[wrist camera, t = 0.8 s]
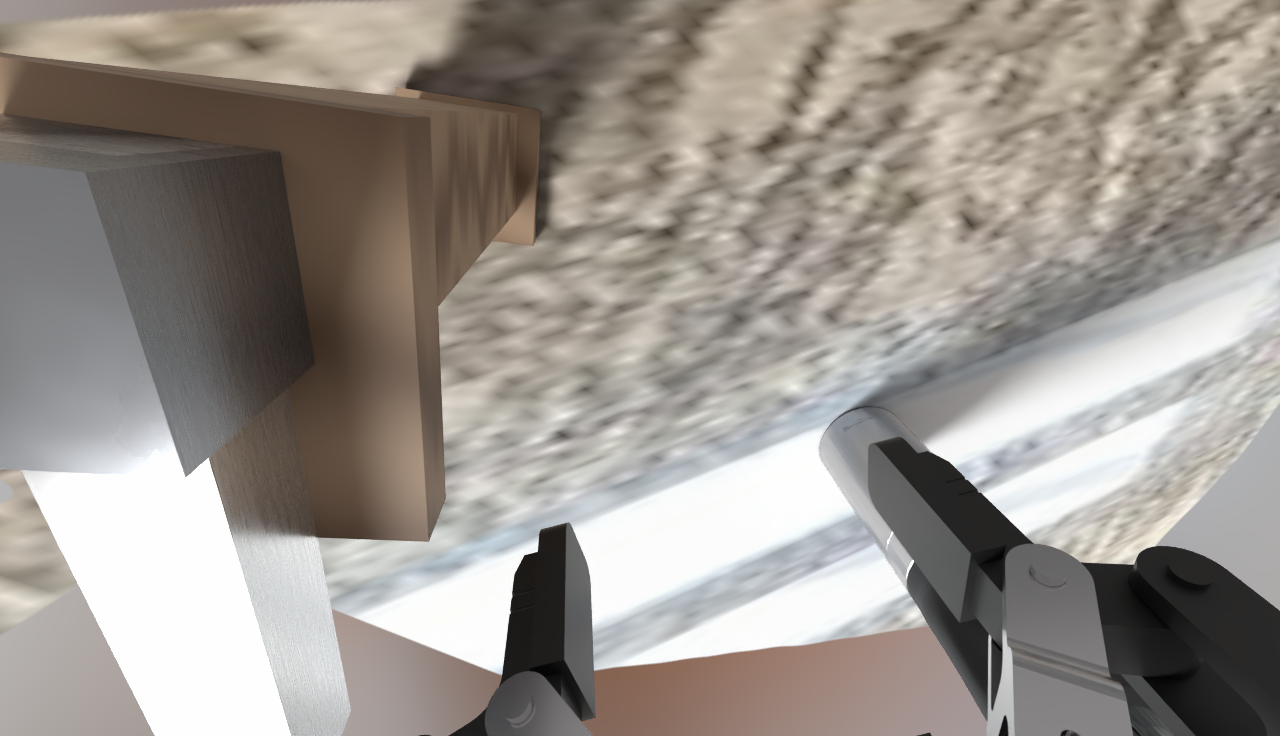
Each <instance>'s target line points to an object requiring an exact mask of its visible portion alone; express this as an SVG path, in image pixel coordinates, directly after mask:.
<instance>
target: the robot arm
mask: <svg viewBox="0 0 1280 736" xmlns="http://www.w3.org/2000/svg"><path fill="white" fill-rule="evenodd" d="M819 451H820V458H821V461H822V462H823V464H824V465H825V467H826V468H827V470H828V472H829V473H830V475H831V476H832V478H833V479H834V481H835V482H836V484H837V485H838V487H839V489H840V490H841V492H842V493H843V495H844V496H845V498H846V499H847V501H848V502H849V504H850V505H851V507H852V508H853V510H854V511H855V513H856V514H857V516H858V517H859V519H860V520H861V522H862V523H863V525H864V526H865V528H866V529H867V531H868V532H869V534H870V535H871V537H872V538H873V540H874V541H875V543H876V544H877V546H878V547H879V549H880V550H881V552H882V553H883V555H884V556H885V558H886V559H887V561H888V562H889V564H890V565H891V567H892V568H893V570H894V571H895V573H896V574H897V576H898V577H899V579H900V580H901V582H902V583H903V585H904V586H905V588H906V589H907V591H908V592H909V594H910V595H911V597H912V598H913V600H914V601H915V603H916V604H917V606H918V607H919V609H920V611H921V612H922V614H923V616H924V618H925V620H926V622H927V623H928V625H929V626H930V628H931V630H932V631H933V633H934V634H935V636H936V637H937V639H938V640H939V642H940V644H941V645H942V647H943V648H944V650H945V651H946V653H947V655H948V656H949V658H950V660H951V661H952V663H953V664H954V666H955V668H956V669H957V671H958V673H959V674H960V676H961V677H962V679H963V681H964V683H965V685H966V686H967V688H968V690H969V691H970V693H971V695H972V696H973V698H974V700H975V702H976V703H977V705H978V707H979V708H980V710H981V712H982V714H983V715H984V717H985V719H986V720H987V734H986V736H1280V611H1279V610H1278V609H1277V608H1275V607H1274V606H1273V605H1272V604H1270V603H1269V602H1268V601H1266V600H1265V599H1264V598H1263V597H1261V596H1260V595H1259V594H1257V593H1256V592H1255V591H1254V590H1252V589H1251V588H1250V587H1248V586H1247V585H1246V584H1244V583H1243V582H1242V581H1241V580H1239V579H1238V578H1237V577H1235V576H1234V575H1233V574H1232V573H1230V572H1229V571H1228V570H1227V569H1225V568H1224V567H1222V566H1221V565H1219V564H1218V563H1216V562H1214V561H1213V560H1211V559H1209V558H1206V557H1205V556H1203V555H1200V554H1197V553H1194V552H1192V551H1189V550H1185V549H1181V548H1176V547H1169V546H1156V547H1150V548H1147V549H1145V550H1143V551H1142V552H1140V553H1139V555H1138V557H1137V559H1136V561H1135V564H1134V565H1126V564H1100V563H1082V562H1079V561H1078V560H1077V559H1075V558H1074V557H1072V556H1071V555H1069V554H1067V553H1065V552H1063V551H1061V550H1059V549H1056V548H1054V547H1050V546H1046V545H1041V544H1034V543H1032V542H1031V541H1030V540H1029V539H1028V538H1027V537H1026V536H1025V535H1024V534H1023V533H1022V532H1021V531H1020V530H1019V529H1017V528H1016V527H1015V526H1014V525H1013V524H1012V523H1011V522H1010V521H1009V520H1008V519H1007V518H1006V517H1005V516H1004V515H1003V514H1002V513H1001V512H1000V511H999V510H998V509H997V508H996V507H995V506H994V505H993V504H992V503H991V502H990V501H989V500H988V499H987V498H986V497H985V496H984V495H983V494H982V493H979V492H978V491H977V489H976V488H975V487H974V486H973V485H972V484H971V483H970V482H969V481H968V480H965V477H964V476H963V475H962V474H961V473H960V472H959V471H958V470H957V469H956V468H955V467H954V466H953V465H952V464H951V463H950V462H948V461H946V460H944V459H942V458H940V457H939V456H937V455H935V454H933V453H932V452H931V451H930V450H929V449H928V448H927V447H926V446H925V445H924V444H923V443H921V442H920V441H919V440H918V439H917V438H916V436H915V435H914V434H913V433H912V432H911V431H909V430H908V429H907V428H906V427H905V426H904V425H903V424H902V423H901V422H900V421H899V420H898V419H897V418H896V417H895V416H894V415H893V414H892V413H890V412H889V411H887V410H885V409H881V408H876V407H866V408H860V409H856V410H853V411H850V412H848V413H846V414H844V415H843V416H841V417H840V418H838V419H837V420H836V421H834V422H833V423H832V424H831V425H830V426H829V428H828V429H827V430H826V432H825V433H824V435H823V437H822V439H821V443H820V447H819ZM512 595H513V598H512V600H511V608H510V611H511V614H510V616H509V624H508V632H507V641H506V649H505V657H504V665H503V674H502V679H501V683H500V686H499V688H498V689H497V690H496V691H495V693H494V694H493V696H492V698H491V699H490V701H489V704H488V707H487V708H486V709H485V710H484V711H483V712H482V713H481V714H480V715H479V716H478V717H477V718H475V719H474V720H473V721H471V722H470V723H468V724H467V725H465V726H464V727H462V728H461V729H459V730H457V731H456V732H454V733H452V734H451V735H449V736H593V735H592V734H591V733H590V732H589V730H588V729H587V728H586V727H585V726H584V724H583V723H582V721H584V720H588V719H592V718H595V695H594V694H595V693H594V664H593V637H592V609H591V583H590V575H589V570H588V566H587V562H586V559H585V557H584V555H583V552H582V550H581V547H580V545H579V543H578V540H577V538H576V536H575V533H574V531H573V528H572V526H571V524H570V523H569V522H568V523H564V524H561V525H557V526H553V527H549V528H545V529H541V531H540V534H539V546H538V552H536V553H532V554H528V555H524V557H523V559H522V561H521V563H520V565H519V567H518V569H517V571H516V573H515V575H514V583H513V591H512ZM420 736H430V735H420ZM918 736H931V734H930V733H926V734H923V735H918Z"/></svg>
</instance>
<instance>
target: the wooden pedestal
mask: <svg viewBox="0 0 1280 736" xmlns="http://www.w3.org/2000/svg"><path fill="white" fill-rule="evenodd" d="M0 114H10V115H17V116H25V117H32V118H39V119H47V120H54V121H61V122H69V123H76V124H83V125H91V126H98V127H106V128H113V129H120V130H128V131H135V132H142V133H150V134H157V135H164V136H172V137H179V138H187V139H194V140H201V141H209V142H216V143H223V144H231V145H238V146H245V147H253V148H260V149H268V150H275V151H280V153H281V159H282V165H283V171H284V177H285V184H286V190H287V196H288V202H289V208H290V214H291V220H292V226H293V232H294V238H295V245H296V251H297V257H298V263H299V269H300V275H301V281H302V287H303V293H304V300H305V306H306V312H307V318H308V324H309V330H310V336H311V342H312V348H313V355H314V361H315V364H314V365H313V366H312V367H311V368H310V369H309V370H307V371H306V372H305V373H304V374H303V375H302V376H301V377H300V378H298V379H297V380H296V381H295V382H294V383H293V384H292V385H291V386H289V387H288V390H289V395H290V400H291V405H292V410H293V415H294V420H295V426H296V431H297V436H298V441H299V446H300V451H301V456H302V461H303V467H304V472H305V477H306V482H307V487H308V492H309V497H310V503H311V508H312V513H313V518H314V523H315V528H316V533H317V537H319V538H346V539H372V540H399V541H425V542H429V540H430V537H431V535H432V532H433V530H434V527H435V524H436V522H437V519H438V517H439V514H440V511H441V509H442V506H443V504H444V501H445V499H446V494H445V469H444V445H443V420H442V395H441V370H440V346H439V321H438V306H439V305H440V304H441V303H442V301H443V300H444V299H445V298H446V296H447V295H448V294H449V293H450V292H451V290H452V289H453V288H454V287H455V285H456V284H457V283H458V282H459V281H460V279H461V278H462V277H463V276H464V274H465V273H466V272H467V271H468V270H469V268H470V267H471V266H472V265H473V263H474V262H475V261H476V260H477V259H478V257H479V256H480V255H481V254H482V252H483V251H484V250H485V249H486V248H487V246H488V245H489V244H490V243H491V241H498V242H507V243H515V244H524V245H532V246H533V245H534V243H535V236H536V215H537V194H538V173H539V151H540V130H541V110H539V109H532V108H526V107H520V106H513V105H507V104H501V103H494V102H488V101H481V100H475V99H469V98H462V97H456V96H450V95H443V94H437V93H430V92H424V91H418V90H411V89H405V88H398V87H396V96H390V95H381V94H372V93H362V92H353V91H344V90H334V89H325V88H316V87H306V86H297V85H288V84H278V83H269V82H260V81H250V80H241V79H232V78H222V77H213V76H204V75H194V74H185V73H176V72H166V71H157V70H148V69H139V68H129V67H120V66H111V65H101V64H92V63H83V62H73V61H64V60H55V59H45V58H36V57H27V56H20V55H14V54H7V53H0Z"/></svg>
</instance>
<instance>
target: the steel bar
mask: <svg viewBox="0 0 1280 736" xmlns="http://www.w3.org/2000/svg"><path fill="white" fill-rule="evenodd" d="M314 364H315V361H314V355H313V348H312V342H311V336H310V330H309V324H308V318H307V312H306V306H305V300H304V293H303V287H302V281H301V275H300V269H299V263H298V257H297V251H296V245H295V238H294V232H293V226H292V220H291V214H290V208H289V202H288V196H287V190H286V184H285V177H284V171H283V165H282V159H281V153H280V151H275V150H268V149H260V148H253V147H245V146H238V145H231V144H223V143H216V142H209V141H201V140H194V139H187V138H179V137H172V136H164V135H157V134H150V133H142V132H135V131H128V130H120V129H113V128H106V127H98V126H91V125H83V124H76V123H69V122H61V121H54V120H47V119H39V118H32V117H25V116H17V115H10V114H0V469H9V470H21V471H22V473H23V475H24V477H25V479H26V481H27V483H28V485H29V487H30V489H31V491H32V493H33V495H34V497H35V499H36V501H37V503H38V505H39V506H40V508H41V510H42V512H43V514H44V516H45V518H46V520H47V522H48V524H49V526H50V528H51V530H52V532H53V534H54V536H55V538H56V540H57V542H58V544H59V546H60V548H61V550H62V552H63V554H64V556H65V558H66V560H67V562H68V564H69V566H70V568H71V570H72V572H73V574H74V576H75V578H76V580H77V582H78V584H79V586H80V587H81V589H82V591H83V593H84V595H85V597H86V599H87V601H88V603H89V605H90V607H91V609H92V611H93V613H94V615H95V617H96V619H97V621H98V623H99V625H100V627H101V629H102V631H103V633H104V635H105V637H106V639H107V641H108V643H109V645H110V647H111V649H112V650H113V653H114V655H115V656H116V659H117V660H118V663H119V664H120V666H121V668H122V670H123V672H124V674H125V676H126V678H127V680H128V682H129V684H130V686H131V688H132V690H133V692H134V694H135V696H136V698H137V700H138V702H139V704H140V706H141V708H142V710H143V712H144V714H145V716H146V718H147V720H148V722H149V724H150V726H151V728H152V730H153V732H154V734H155V736H341V735H342V732H343V730H344V727H345V725H346V722H347V720H348V717H349V715H350V712H351V708H350V703H349V698H348V693H347V687H346V682H345V677H344V672H343V667H342V662H341V656H340V651H339V647H338V641H337V636H336V631H335V626H334V621H333V616H332V610H331V605H330V600H329V595H328V590H327V585H326V579H325V574H324V569H323V564H322V559H321V554H320V549H319V544H318V538H317V533H316V528H315V523H314V518H313V513H312V508H311V503H310V497H309V492H308V487H307V482H306V477H305V472H304V467H303V461H302V456H301V451H300V446H299V441H298V436H297V431H296V426H295V420H294V415H293V410H292V405H291V400H290V395H289V390H288V387H289V386H291V385H292V384H293V383H294V382H295V381H296V380H297V379H298V378H300V377H301V376H302V375H303V374H304V373H305V372H306V371H307V370H309V369H310V368H311V367H312V366H313V365H314Z"/></svg>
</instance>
